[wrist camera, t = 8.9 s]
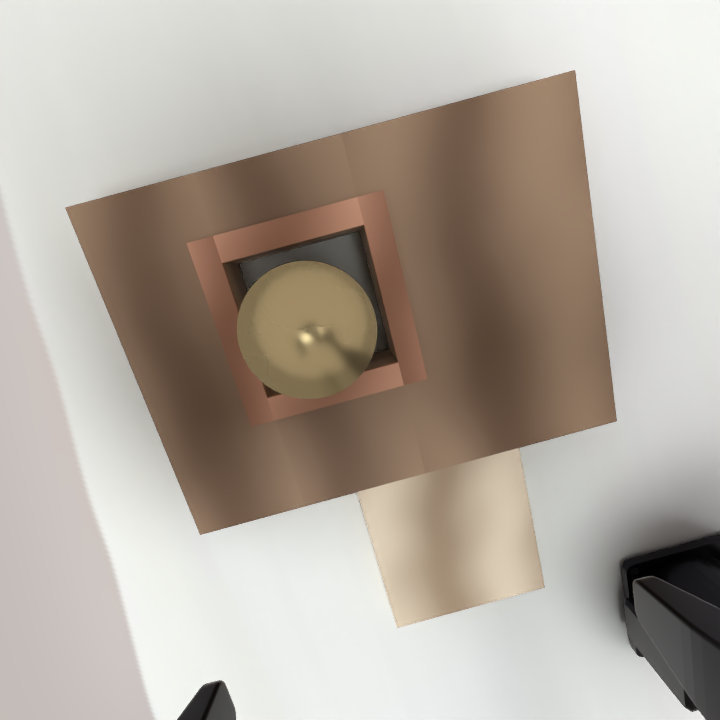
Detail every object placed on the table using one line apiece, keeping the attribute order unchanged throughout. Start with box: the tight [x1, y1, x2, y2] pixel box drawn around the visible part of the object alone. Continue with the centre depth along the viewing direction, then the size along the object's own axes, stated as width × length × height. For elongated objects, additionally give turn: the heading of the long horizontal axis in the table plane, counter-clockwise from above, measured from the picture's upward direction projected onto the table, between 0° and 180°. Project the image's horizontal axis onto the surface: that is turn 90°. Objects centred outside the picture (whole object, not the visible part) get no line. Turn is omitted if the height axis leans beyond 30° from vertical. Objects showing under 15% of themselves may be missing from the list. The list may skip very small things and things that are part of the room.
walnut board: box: [66, 70, 617, 628], centre depth 18 cm, size 19×23×3 cm
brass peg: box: [237, 261, 377, 399], centre depth 15 cm, size 4×4×7 cm
